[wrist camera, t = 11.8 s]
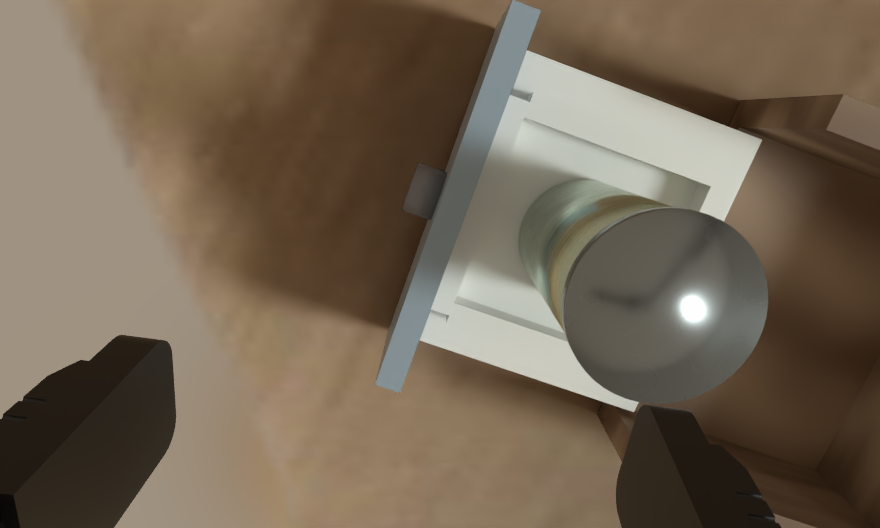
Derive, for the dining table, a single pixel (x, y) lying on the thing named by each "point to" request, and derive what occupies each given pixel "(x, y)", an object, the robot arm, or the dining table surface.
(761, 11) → the dining table surface
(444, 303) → the grey drawer
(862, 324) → the wooden drawer box
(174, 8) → the dining table surface
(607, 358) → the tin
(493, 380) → the dining table surface
